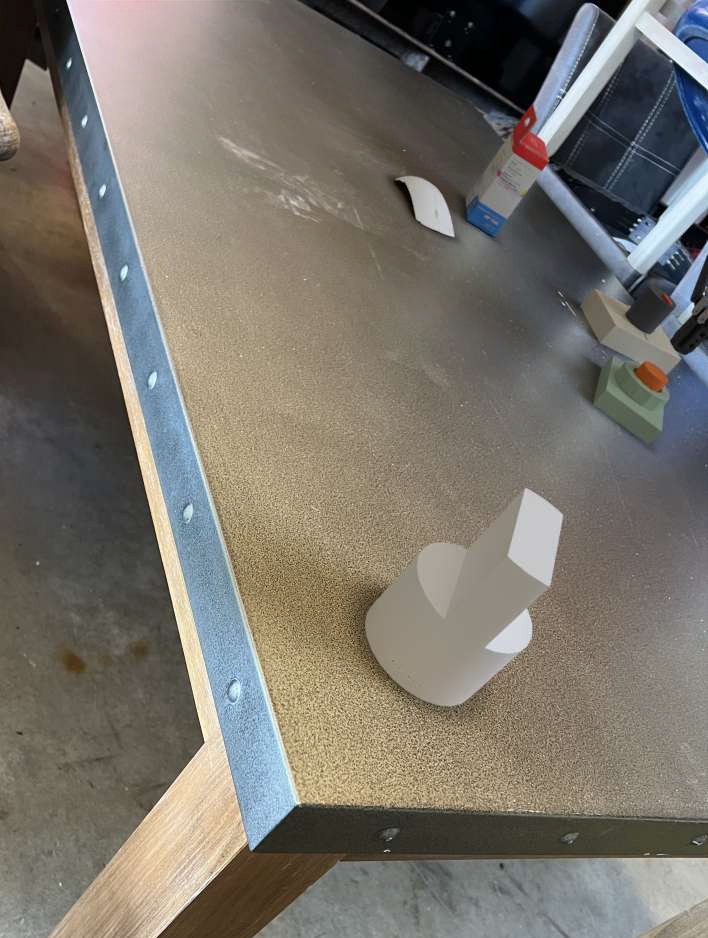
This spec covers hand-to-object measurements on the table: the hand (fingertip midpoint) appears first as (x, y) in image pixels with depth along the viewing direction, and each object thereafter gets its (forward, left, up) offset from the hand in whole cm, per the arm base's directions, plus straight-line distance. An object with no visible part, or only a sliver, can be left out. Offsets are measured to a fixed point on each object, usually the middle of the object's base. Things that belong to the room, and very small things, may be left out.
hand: (677, 348), depth 110 cm
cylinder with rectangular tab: (+41, +51, -9) cm, 66 cm away
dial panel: (-8, -19, -9) cm, 22 cm away
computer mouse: (+23, -29, -9) cm, 38 cm away
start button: (0, 0, -5) cm, 5 cm away
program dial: (-8, -19, -6) cm, 21 cm away
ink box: (+12, -36, -9) cm, 39 cm away
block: (0, 0, -9) cm, 9 cm away
